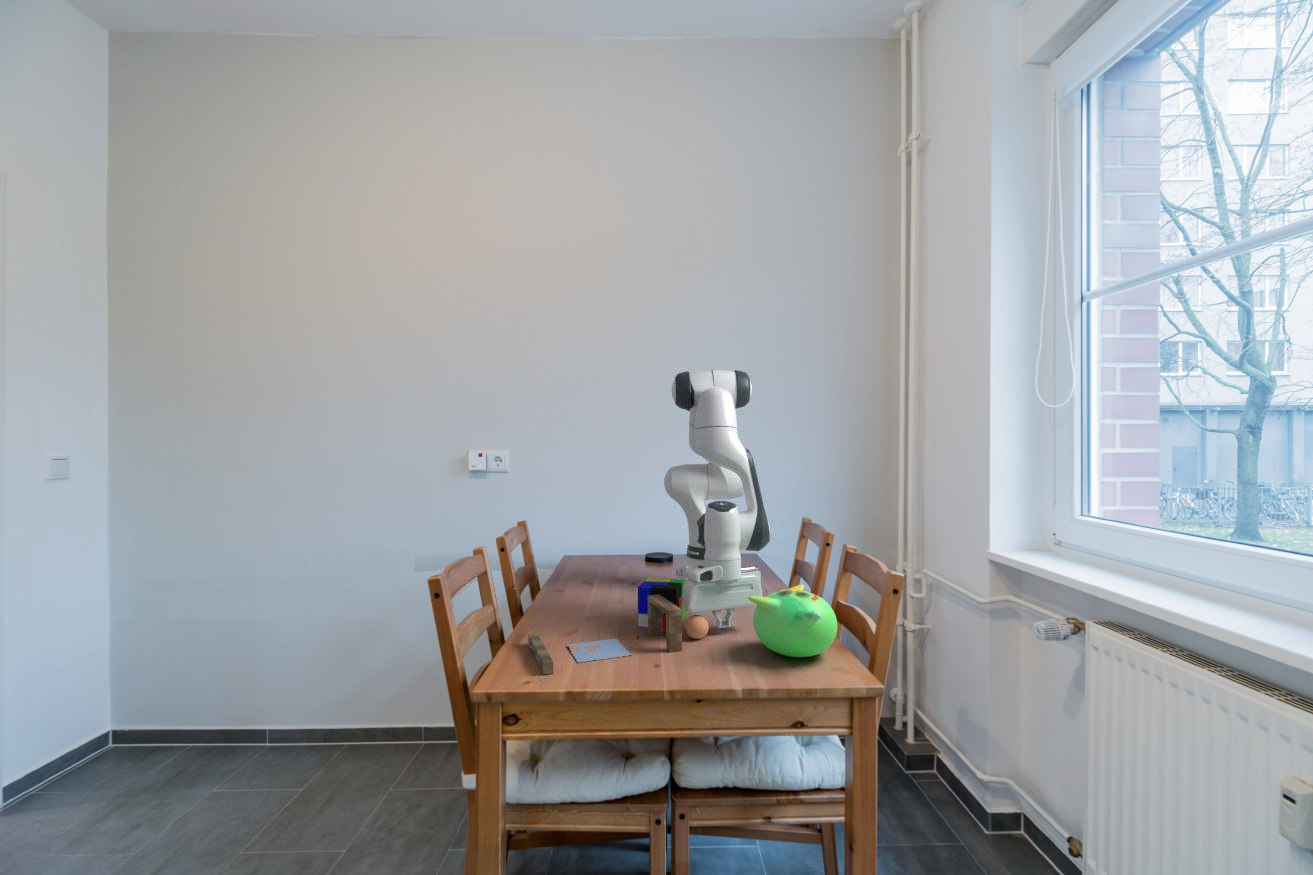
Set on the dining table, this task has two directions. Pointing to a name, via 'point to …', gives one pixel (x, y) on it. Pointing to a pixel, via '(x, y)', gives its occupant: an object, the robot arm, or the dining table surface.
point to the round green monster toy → (794, 622)
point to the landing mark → (599, 650)
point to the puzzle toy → (662, 587)
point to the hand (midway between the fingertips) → (723, 626)
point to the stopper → (540, 653)
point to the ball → (696, 626)
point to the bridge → (672, 621)
